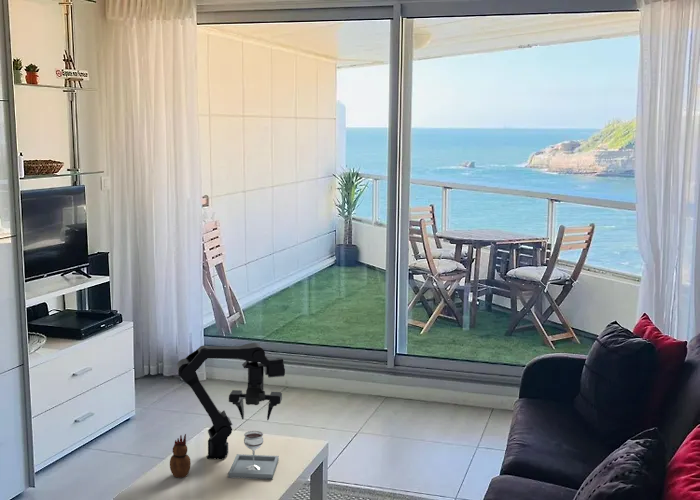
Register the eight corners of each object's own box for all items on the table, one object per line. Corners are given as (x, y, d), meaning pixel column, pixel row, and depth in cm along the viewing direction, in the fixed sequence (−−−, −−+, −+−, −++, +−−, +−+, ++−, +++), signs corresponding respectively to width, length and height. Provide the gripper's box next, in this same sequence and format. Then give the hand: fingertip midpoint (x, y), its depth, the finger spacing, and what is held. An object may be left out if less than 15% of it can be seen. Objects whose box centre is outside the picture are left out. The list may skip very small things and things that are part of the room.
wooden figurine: (193, 473, 261) (193, 432, 259) (184, 481, 256) (184, 438, 254) (176, 470, 264) (175, 429, 261) (167, 477, 258) (166, 435, 256)
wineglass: (249, 461, 270) (249, 429, 269) (266, 465, 268) (266, 432, 266) (240, 469, 264) (240, 436, 262) (257, 472, 262) (257, 439, 260)
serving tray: (228, 477, 259) (228, 472, 259) (237, 458, 274) (237, 454, 274) (272, 479, 258) (272, 474, 258) (278, 460, 273) (278, 455, 273)
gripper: (225, 384, 269) (225, 426, 271) (278, 386, 268) (277, 429, 270) (231, 374, 280) (231, 415, 282) (282, 376, 279) (282, 417, 281)
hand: (255, 419), depth 279 cm, fingers open, 9 cm apart
